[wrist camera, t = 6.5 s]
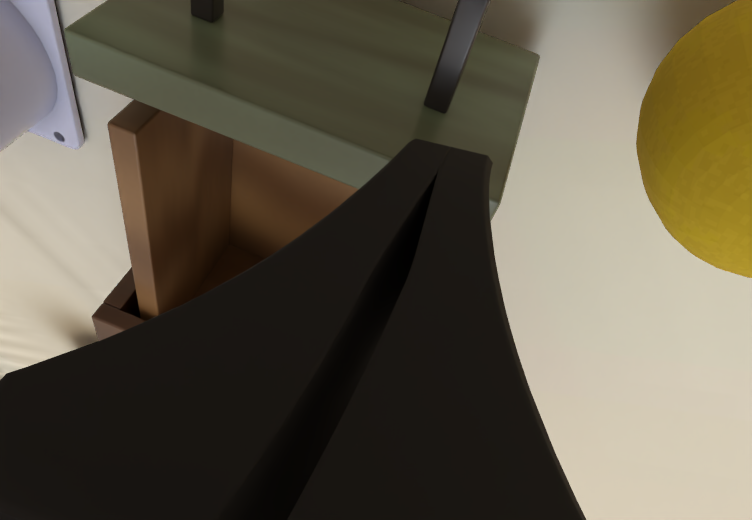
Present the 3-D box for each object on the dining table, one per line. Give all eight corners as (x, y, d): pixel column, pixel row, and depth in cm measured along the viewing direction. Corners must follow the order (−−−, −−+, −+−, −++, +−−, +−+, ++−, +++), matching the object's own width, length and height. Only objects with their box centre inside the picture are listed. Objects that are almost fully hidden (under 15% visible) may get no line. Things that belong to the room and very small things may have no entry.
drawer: (213, -286, 13) (1, -249, 9) (632, -132, 13) (621, -15, 9) (212, 228, 27) (128, 341, 23) (415, 311, 27) (369, 442, 22)
